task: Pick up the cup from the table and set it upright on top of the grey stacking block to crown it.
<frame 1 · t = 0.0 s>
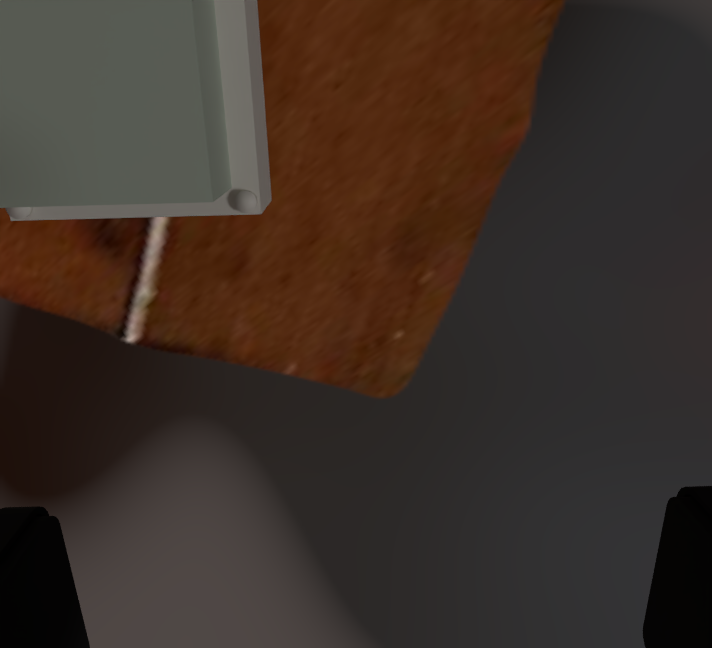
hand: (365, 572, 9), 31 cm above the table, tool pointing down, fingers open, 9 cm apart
grey stacking block: (145, 85, 35), on the table
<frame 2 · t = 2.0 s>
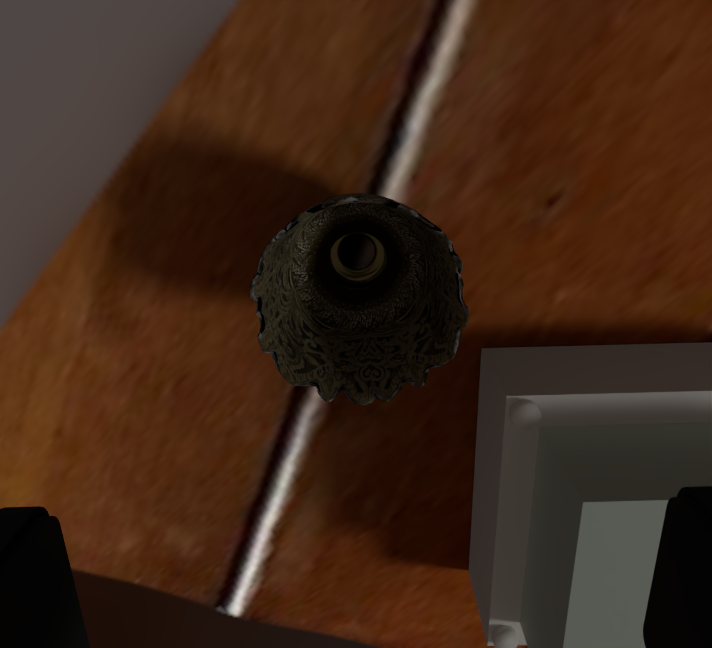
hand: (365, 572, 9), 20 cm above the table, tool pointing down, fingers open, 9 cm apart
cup: (357, 250, 28), on the table
grey stacking block: (605, 465, 32), on the table
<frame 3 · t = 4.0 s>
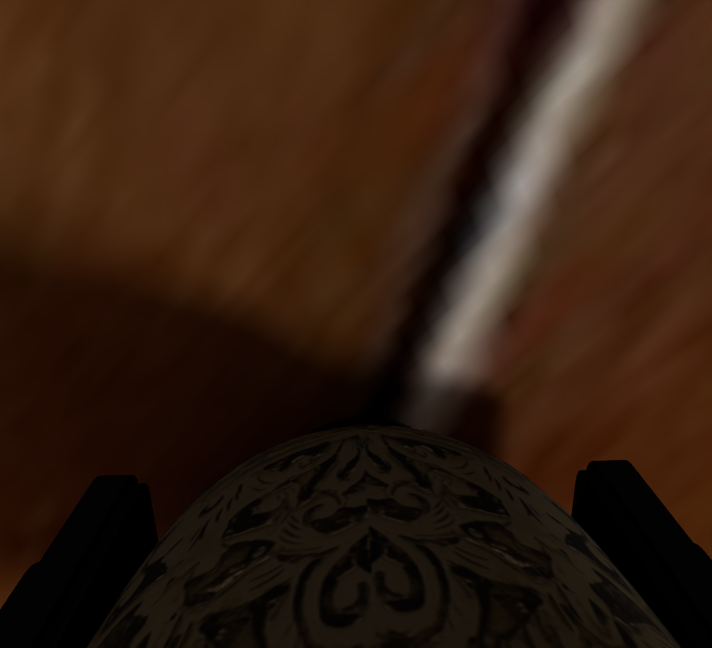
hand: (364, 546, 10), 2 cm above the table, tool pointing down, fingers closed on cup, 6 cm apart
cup: (363, 479, 11), on the table, touching gripper
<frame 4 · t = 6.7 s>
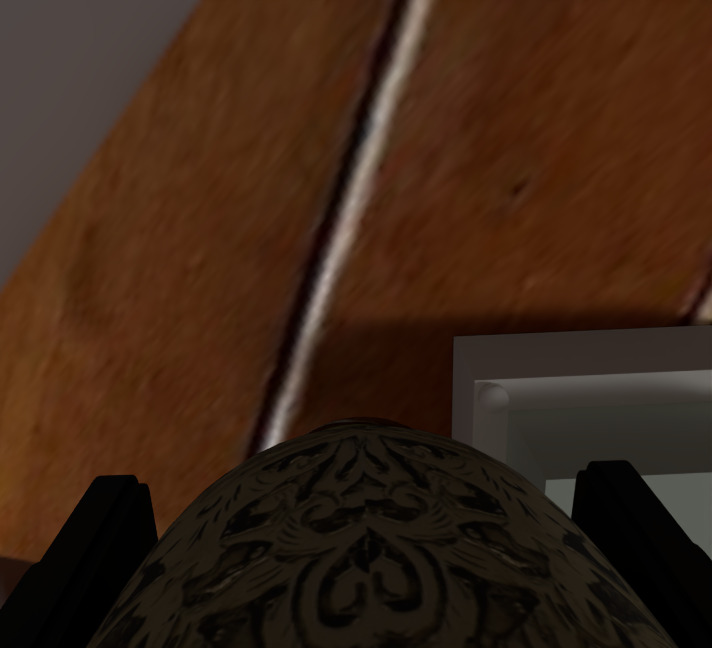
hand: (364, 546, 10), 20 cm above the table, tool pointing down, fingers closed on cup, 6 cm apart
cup: (361, 480, 11), point 18 cm above the table, touching gripper
grey stacking block: (580, 451, 32), on the table
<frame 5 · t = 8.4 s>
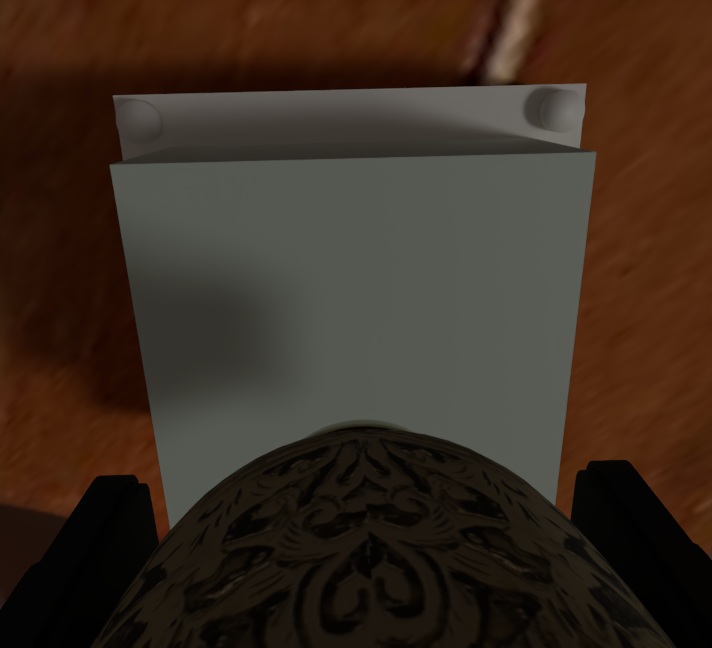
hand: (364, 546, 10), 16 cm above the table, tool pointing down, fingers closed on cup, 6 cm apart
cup: (361, 482, 11), point 14 cm above the table, touching gripper
grey stacking block: (353, 271, 25), on the table
when the fingers open (13 cm above the table, at t = 9.5 s): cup drops 1 cm, resting on grey stacking block.
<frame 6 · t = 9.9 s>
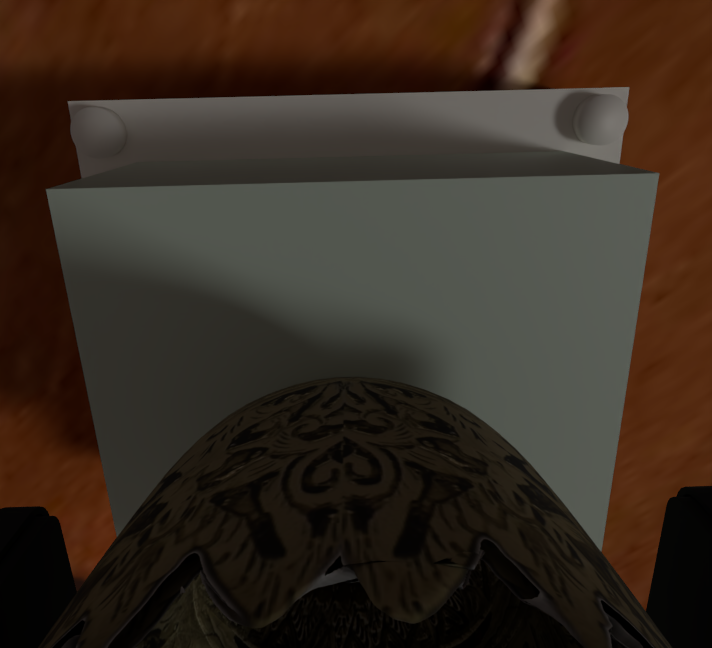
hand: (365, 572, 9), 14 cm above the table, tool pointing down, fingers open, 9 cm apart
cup: (350, 439, 13), point 10 cm above the table, touching grey stacking block
grey stacking block: (353, 298, 22), on the table
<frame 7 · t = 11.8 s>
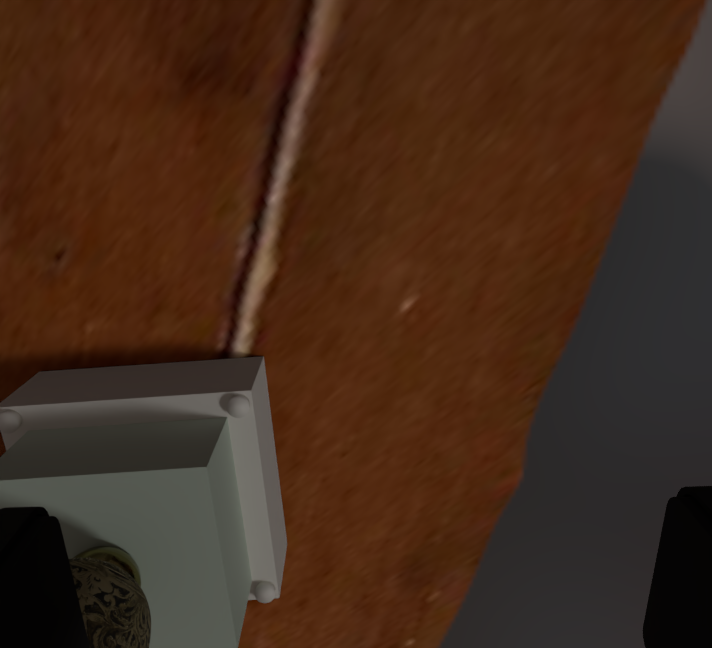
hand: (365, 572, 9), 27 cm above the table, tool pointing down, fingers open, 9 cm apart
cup: (110, 566, 30), point 10 cm above the table, touching grey stacking block
grey stacking block: (170, 462, 39), on the table
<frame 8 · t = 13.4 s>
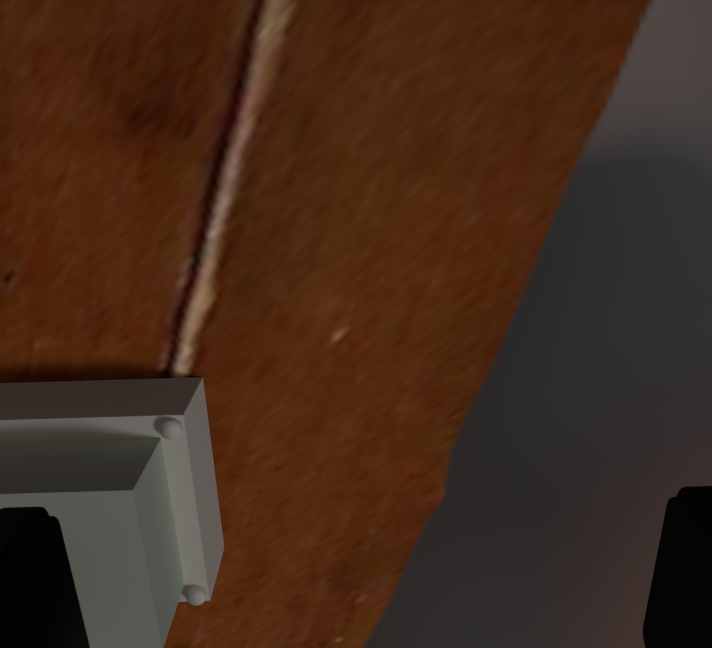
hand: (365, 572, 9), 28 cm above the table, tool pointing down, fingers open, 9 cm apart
grey stacking block: (113, 470, 42), on the table
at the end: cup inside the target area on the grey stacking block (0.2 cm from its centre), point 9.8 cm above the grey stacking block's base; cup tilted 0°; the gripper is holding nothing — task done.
